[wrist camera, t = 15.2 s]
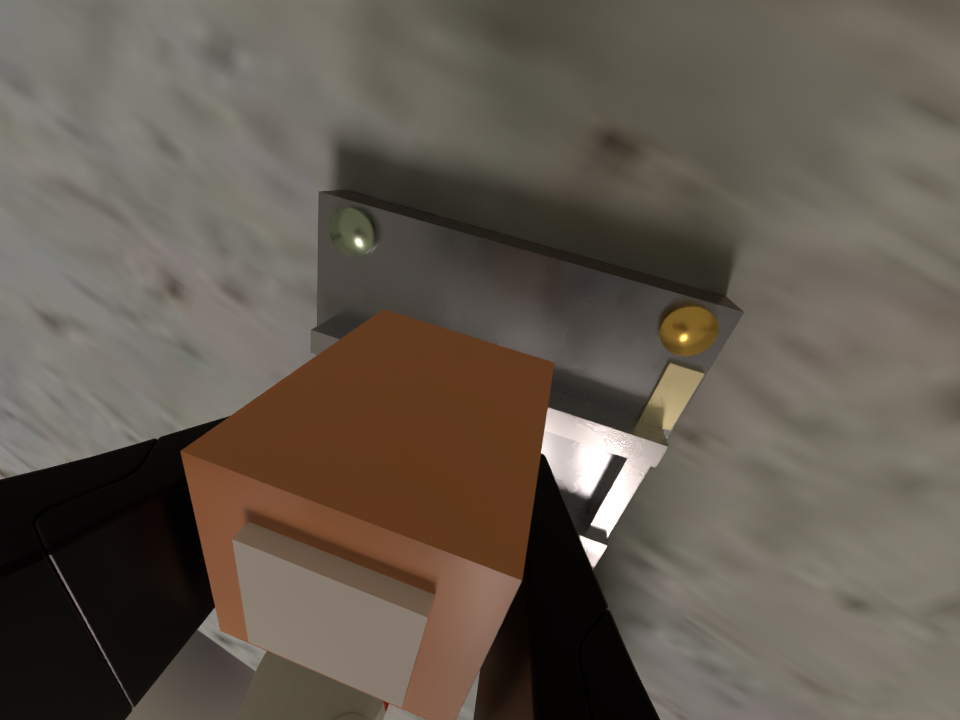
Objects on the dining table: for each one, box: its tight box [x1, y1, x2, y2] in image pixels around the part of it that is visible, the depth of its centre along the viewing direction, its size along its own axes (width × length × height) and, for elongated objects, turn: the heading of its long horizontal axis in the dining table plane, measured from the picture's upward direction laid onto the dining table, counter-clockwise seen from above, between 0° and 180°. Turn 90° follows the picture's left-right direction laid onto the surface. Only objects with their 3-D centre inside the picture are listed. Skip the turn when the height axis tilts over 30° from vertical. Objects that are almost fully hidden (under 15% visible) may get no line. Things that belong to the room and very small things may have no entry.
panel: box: [311, 190, 744, 569], centre depth 20 cm, size 21×18×4 cm
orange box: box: [180, 309, 554, 720], centre depth 7 cm, size 4×4×5 cm
